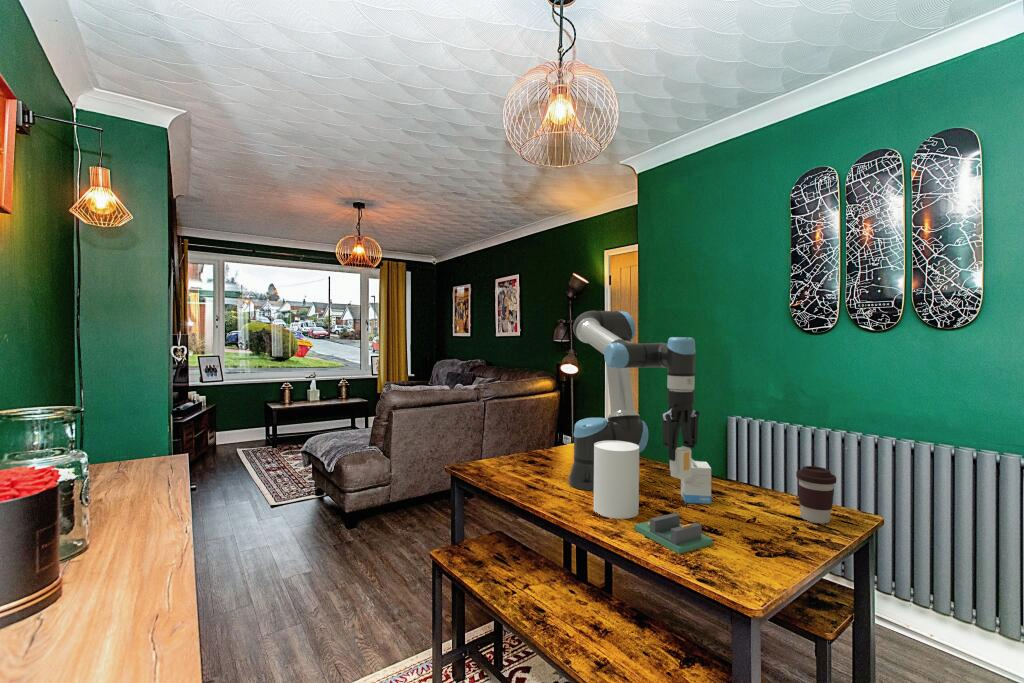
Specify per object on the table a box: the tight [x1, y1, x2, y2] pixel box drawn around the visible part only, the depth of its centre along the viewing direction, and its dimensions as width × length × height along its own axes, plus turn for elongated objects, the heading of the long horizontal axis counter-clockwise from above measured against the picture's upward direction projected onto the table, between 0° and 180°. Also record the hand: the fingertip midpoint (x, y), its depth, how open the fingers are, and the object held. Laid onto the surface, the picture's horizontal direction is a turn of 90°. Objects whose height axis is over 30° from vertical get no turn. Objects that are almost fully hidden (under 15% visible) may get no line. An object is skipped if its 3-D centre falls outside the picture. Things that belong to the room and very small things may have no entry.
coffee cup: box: [795, 465, 837, 525], centre depth 140 cm, size 10×10×15 cm
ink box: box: [680, 457, 712, 505], centre depth 156 cm, size 9×8×13 cm
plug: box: [670, 446, 692, 481], centre depth 138 cm, size 4×4×8 cm
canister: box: [593, 441, 640, 520], centre depth 146 cm, size 14×14×20 cm
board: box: [634, 512, 714, 555], centre depth 127 cm, size 16×12×5 cm
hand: (679, 470), depth 138 cm, fingers closed on plug, 4 cm apart
